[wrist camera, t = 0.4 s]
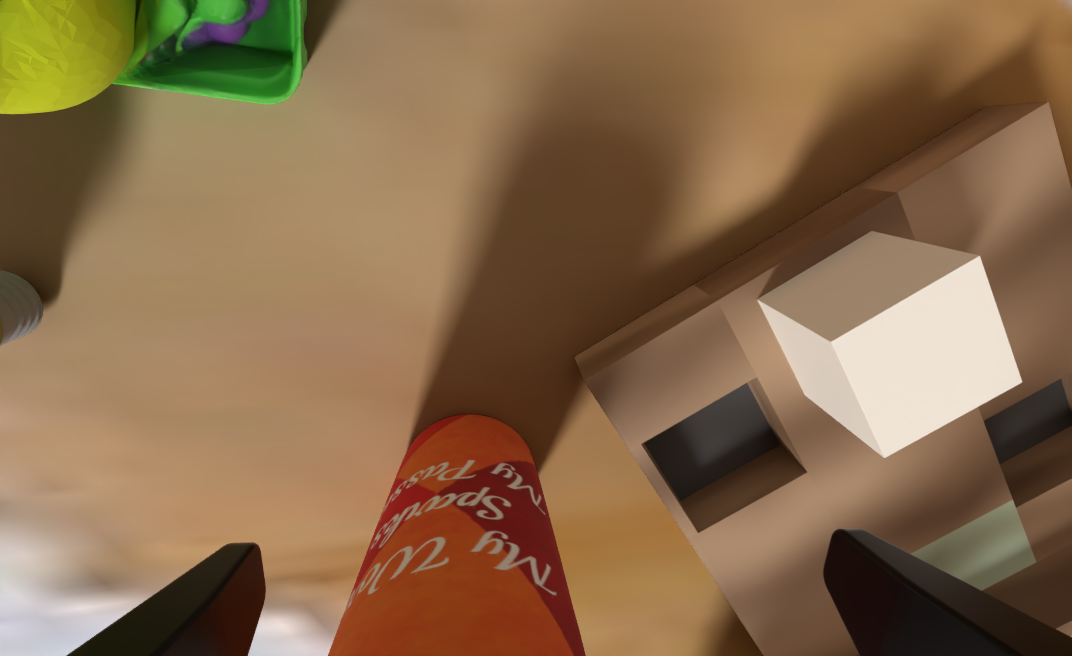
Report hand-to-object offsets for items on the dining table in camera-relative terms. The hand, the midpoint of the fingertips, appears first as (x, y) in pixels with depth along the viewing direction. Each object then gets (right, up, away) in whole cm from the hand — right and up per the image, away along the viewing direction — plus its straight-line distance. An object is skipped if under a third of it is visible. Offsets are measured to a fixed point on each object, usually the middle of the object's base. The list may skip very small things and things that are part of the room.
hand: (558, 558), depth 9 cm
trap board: (+14, 0, +16) cm, 21 cm away
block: (+11, +4, +12) cm, 16 cm away
